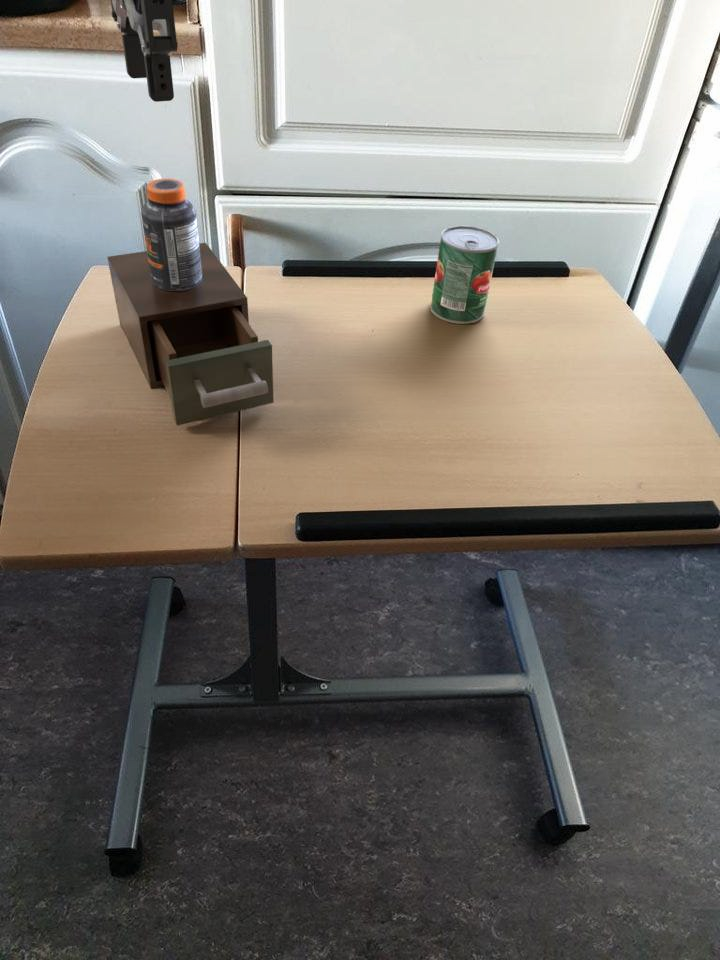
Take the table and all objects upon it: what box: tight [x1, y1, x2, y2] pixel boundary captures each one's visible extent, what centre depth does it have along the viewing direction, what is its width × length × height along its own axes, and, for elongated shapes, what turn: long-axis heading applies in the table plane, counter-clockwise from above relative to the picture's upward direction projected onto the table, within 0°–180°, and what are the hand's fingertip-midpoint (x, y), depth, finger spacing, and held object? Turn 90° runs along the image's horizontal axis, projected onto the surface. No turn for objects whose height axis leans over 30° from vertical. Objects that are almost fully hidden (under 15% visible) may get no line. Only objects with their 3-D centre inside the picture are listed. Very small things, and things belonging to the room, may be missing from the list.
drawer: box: [147, 306, 274, 427], centre depth 80 cm, size 19×11×8 cm, turn 27°
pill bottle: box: [140, 178, 202, 291], centre depth 80 cm, size 6×6×11 cm
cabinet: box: [106, 242, 250, 389], centre depth 88 cm, size 16×13×10 cm
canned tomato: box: [429, 225, 500, 325], centre depth 99 cm, size 8×8×11 cm
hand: (150, 88), depth 69 cm, fingers open, 8 cm apart
